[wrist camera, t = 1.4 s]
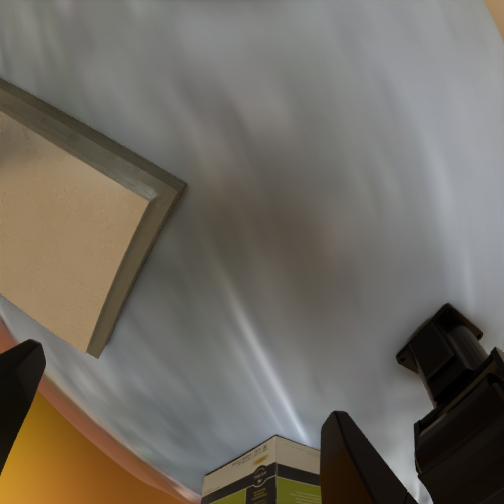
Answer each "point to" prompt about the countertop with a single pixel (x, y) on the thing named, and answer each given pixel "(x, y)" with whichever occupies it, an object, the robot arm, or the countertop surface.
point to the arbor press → (73, 219)
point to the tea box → (268, 476)
